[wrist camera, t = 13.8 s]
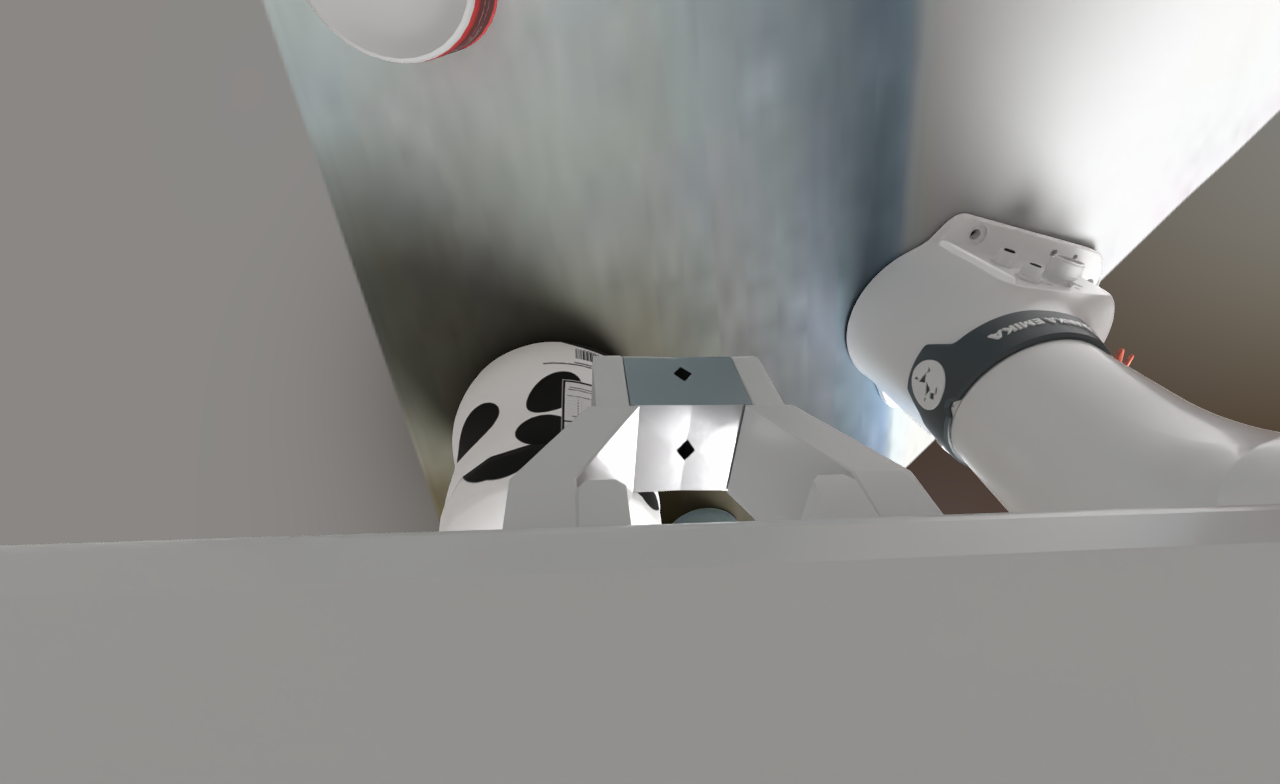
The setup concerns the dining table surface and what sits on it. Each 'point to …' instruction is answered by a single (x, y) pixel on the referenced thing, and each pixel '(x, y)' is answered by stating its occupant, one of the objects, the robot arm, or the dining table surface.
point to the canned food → (406, 25)
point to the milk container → (519, 430)
